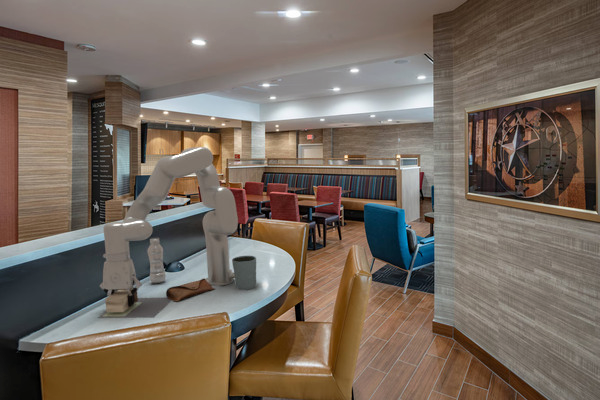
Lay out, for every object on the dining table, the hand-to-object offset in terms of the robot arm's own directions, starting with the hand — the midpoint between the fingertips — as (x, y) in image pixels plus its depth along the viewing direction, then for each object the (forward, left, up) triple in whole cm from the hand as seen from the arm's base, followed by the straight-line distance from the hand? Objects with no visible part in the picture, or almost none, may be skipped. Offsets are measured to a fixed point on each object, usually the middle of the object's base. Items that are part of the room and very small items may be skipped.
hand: (122, 304), depth 128 cm
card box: (0, 0, -1) cm, 1 cm away
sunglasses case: (-20, -15, -2) cm, 25 cm away
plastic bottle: (+1, -30, -2) cm, 30 cm away
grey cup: (-40, -24, -2) cm, 47 cm away
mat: (-5, -2, -2) cm, 6 cm away
